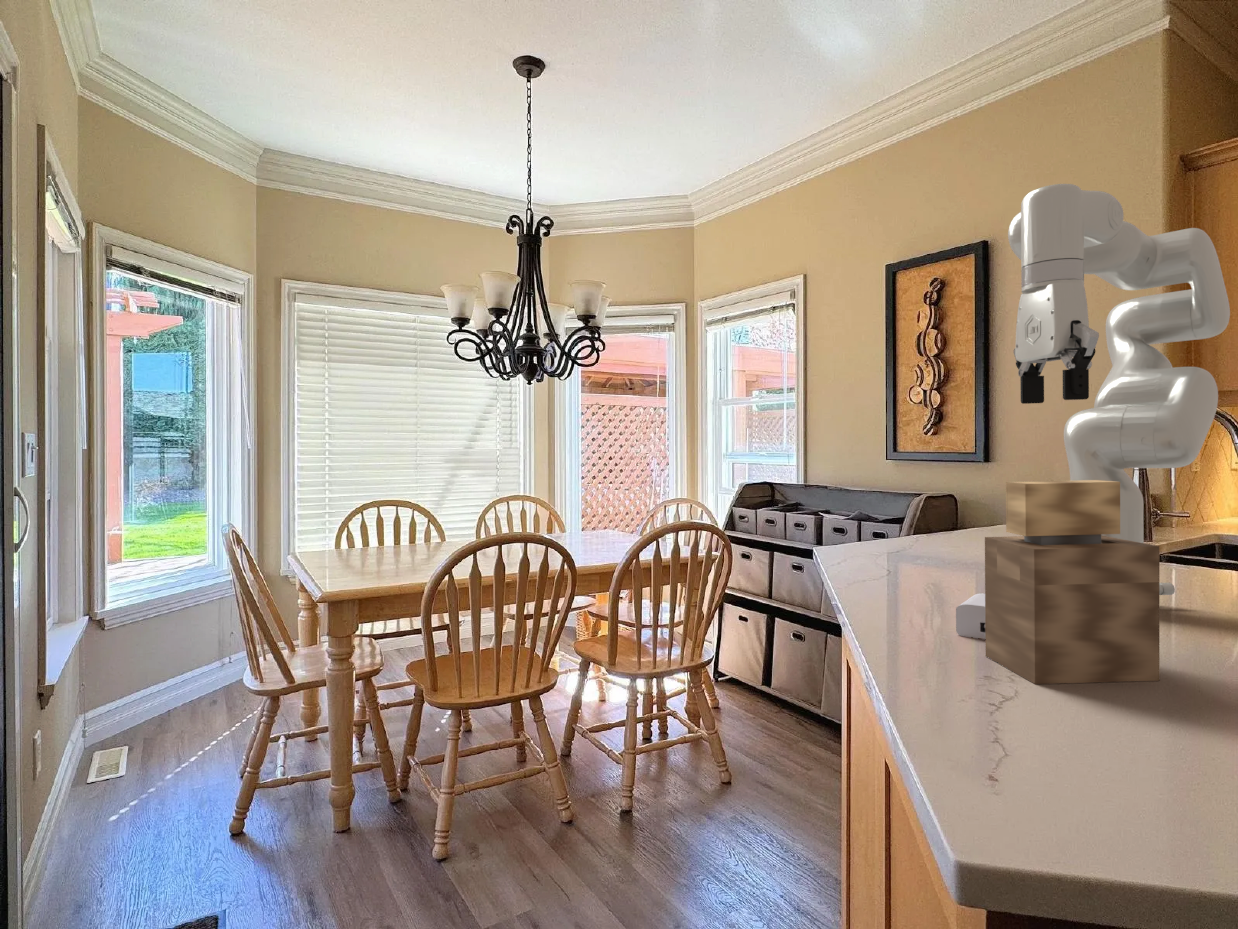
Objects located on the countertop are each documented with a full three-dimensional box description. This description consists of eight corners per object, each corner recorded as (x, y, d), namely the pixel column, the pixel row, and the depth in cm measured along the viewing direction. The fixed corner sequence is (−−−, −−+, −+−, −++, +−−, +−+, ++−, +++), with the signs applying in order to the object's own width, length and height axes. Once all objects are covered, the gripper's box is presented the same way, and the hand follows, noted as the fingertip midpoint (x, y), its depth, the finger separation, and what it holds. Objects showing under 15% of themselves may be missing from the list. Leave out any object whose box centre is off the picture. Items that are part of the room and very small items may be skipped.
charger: (1051, 624, 106) (1031, 647, 95) (982, 615, 112) (956, 637, 101) (1050, 591, 106) (1031, 611, 95) (982, 585, 112) (955, 603, 100)
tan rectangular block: (1096, 571, 87) (1096, 480, 87) (1120, 577, 83) (1120, 481, 83) (1006, 573, 87) (1006, 482, 87) (1025, 579, 83) (1025, 484, 83)
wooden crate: (1096, 653, 91) (1095, 534, 90) (1159, 680, 80) (1159, 546, 80) (985, 656, 91) (984, 537, 90) (1034, 684, 80) (1034, 549, 80)
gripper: (992, 291, 110) (993, 405, 110) (1065, 264, 92) (1066, 398, 93) (1041, 290, 110) (1042, 403, 110) (1123, 262, 92) (1123, 397, 93)
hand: (1053, 401), depth 102 cm, fingers open, 9 cm apart
